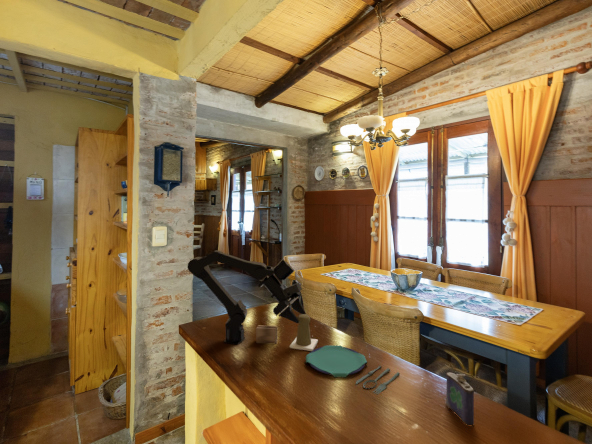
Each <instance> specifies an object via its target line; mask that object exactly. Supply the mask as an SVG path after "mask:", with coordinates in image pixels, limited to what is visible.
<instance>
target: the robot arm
mask: <svg viewBox="0 0 592 444" xmlns="http://www.w3.org/2000/svg"><path fill="white" fill-rule="evenodd" d="M215 262H217V263H220V264H224V265H226V266H229V267H232V268H235V269H238V270H240V271H243V272H245V273H246V274H247V275H249V276H250V277H252V278H254V279H257V280H258V288H262V287H263V286H264V287H265V288H266V289H267V291H268V292H269V293H270V294H271V295H270V297H271V298H272V299H273V298H274V299H275V300H276V302H278V303H277V304H276V306H274V308H272V310H273V311H272V312H273V314H274V316H276V317H277V316H278V317H282V318H284V319H287V320H289V321H291V322H293V323H295V324H298V323H299V320H298V318H297V317H298V316H297V315H296V314H295V313H294V311H293V310H295V311H296V312H297V313H299V315H301V314H307V312H306V311H305V308H304V307H303V305H302V302H301V301H302V300H301V299H302V295H301V294H302V293H301V291H303V288H302V283H300V281H298V280H297V279H296V280H293V281H292V282H291V284H290V285H288V286H287V284H282V283H281V282H280V281H286V280H287V279H288V278H289V277H290V276H291V275H292V274H293V273H294V272H295V269H294V267H292V266H291V264H290V263H288V262H287V261H286V260H285V259H284V258H283V259H281V260H280V261H279V262H278V263H277V265H275V266H270V265H266V263H264V262H260V261H255V260H254V261H252V260H246V259H242V258H241V257H237V256H235V255H232V254H229V253H226V252H222V251H221V250H214V251H212V252H211V253H209V254H206V255H205V256H197V257H194V258H193V259H190V261H189V262H188V263H187V270H188V272H189V273H191V274H192V275H193V276H194V277H196V278H197V279H199V280H201V281H202V282H203V283H204V284H205V285H206V286H207V287H208V289H209V290H210V291H211V292H212V294H213V295H214V296H215V297H216V299H218V301H219V302H220V303H221V304H222V305H223V306H224V308H225V310H226V313H227V316H228V319H227V320H226V322H225V324H224V325H225V339H224V340H223V343H225V344H230V345H239V344H240V343H242V342H243V341H244V340H245V339H246V337H245V329H244V325H243V324H244V322H245V321H246V318H247V315H248V309H247V305H245V304H244V303H243V301H242V300H241V299H239V300H238V301H237V300H235V299H234V298H233V297H232V296H231V294H230V293H229V292H228V290H226V288H225V287H224V286H223V284H221V282H219V280H218V279H217V277H216V276H214V275H213V272H212V271H211V268H210V264H213V263H215Z"/></svg>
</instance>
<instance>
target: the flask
mask: <svg viewBox="0 0 592 444" xmlns="http://www.w3.org/2000/svg"><path fill="white" fill-rule="evenodd" d="M464 377H466V374H465V373H456V374H455V373H453V372H446V392H445V393H446V398H445V405H446V407H447V406H448V407H447V408H448V409H449V408H450V409H451V410H452V411H453V412H455V413H456V414H457V415H458V416H459V417H460V418H461V419H460V421H461V420H462V421H463V422H464V423H465V424H467V425H473V424H474V425H475V417H474V416H475V415H474V414H475V413H474V412H475V410H474V409H475V402H474V401H475V398H474V397H475V395H474V393H475V390H474V388H473V387H472V386H471V385H470V384H469V383H468V382H467V380H466V378H464ZM450 409H449V410H450ZM451 410H450V411H451ZM452 411H451V412H452ZM453 412H452V413H453ZM458 416H457V417H458ZM462 421H461V422H462ZM463 422H462V423H463ZM464 423H463V424H464ZM465 424H464V425H465ZM467 425H466V426H467Z"/></svg>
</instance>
